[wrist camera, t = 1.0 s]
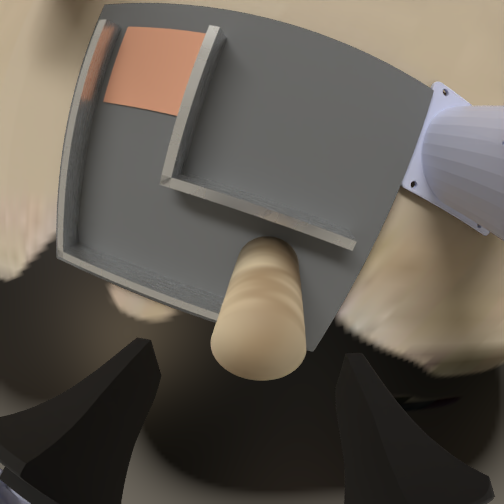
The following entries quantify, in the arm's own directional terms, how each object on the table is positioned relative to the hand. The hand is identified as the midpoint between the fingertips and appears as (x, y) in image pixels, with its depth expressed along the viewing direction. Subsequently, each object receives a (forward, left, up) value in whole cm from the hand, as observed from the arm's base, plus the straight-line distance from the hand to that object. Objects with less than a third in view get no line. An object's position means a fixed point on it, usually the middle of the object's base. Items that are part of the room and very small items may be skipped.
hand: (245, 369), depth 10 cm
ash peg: (0, 0, -10) cm, 10 cm away
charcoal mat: (+5, -4, -10) cm, 12 cm away
